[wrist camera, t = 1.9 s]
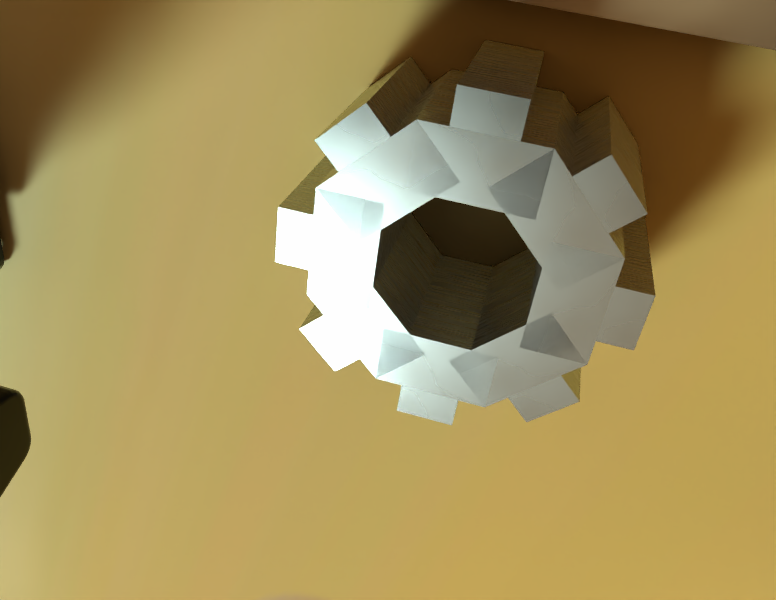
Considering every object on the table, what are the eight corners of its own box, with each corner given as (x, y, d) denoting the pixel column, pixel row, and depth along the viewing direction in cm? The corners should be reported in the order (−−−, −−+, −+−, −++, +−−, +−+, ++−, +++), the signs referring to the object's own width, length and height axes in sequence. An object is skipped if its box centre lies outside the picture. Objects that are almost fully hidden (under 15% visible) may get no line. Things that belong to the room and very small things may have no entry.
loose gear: (320, 296, 19) (268, 376, 16) (347, 12, 15) (286, 50, 12) (590, 363, 18) (589, 462, 15) (692, 80, 14) (717, 137, 11)
